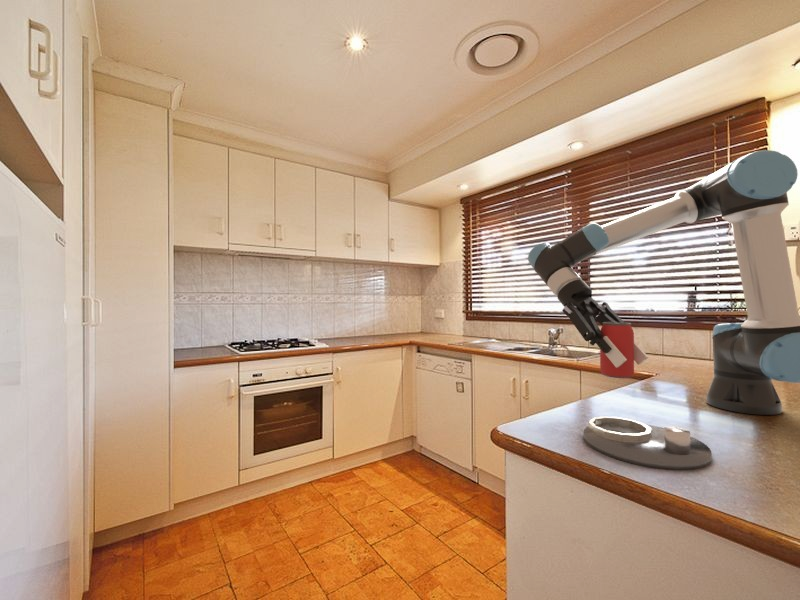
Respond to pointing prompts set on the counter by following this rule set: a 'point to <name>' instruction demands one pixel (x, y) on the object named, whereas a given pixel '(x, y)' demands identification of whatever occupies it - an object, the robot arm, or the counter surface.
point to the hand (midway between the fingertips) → (632, 362)
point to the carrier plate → (647, 444)
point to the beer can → (624, 342)
